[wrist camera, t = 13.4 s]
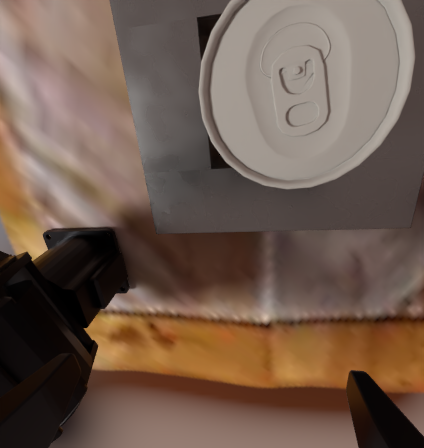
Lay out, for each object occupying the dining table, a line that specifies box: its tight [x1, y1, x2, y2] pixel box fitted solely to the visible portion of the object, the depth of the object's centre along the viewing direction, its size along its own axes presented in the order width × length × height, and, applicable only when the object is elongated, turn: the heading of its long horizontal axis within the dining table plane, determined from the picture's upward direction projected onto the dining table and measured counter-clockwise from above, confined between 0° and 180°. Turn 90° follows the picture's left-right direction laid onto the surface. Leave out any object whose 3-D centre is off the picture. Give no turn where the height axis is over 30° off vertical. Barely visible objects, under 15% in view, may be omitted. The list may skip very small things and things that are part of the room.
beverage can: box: [199, 0, 415, 189], centre depth 11 cm, size 5×5×12 cm
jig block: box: [110, 0, 424, 234], centre depth 15 cm, size 15×15×4 cm
